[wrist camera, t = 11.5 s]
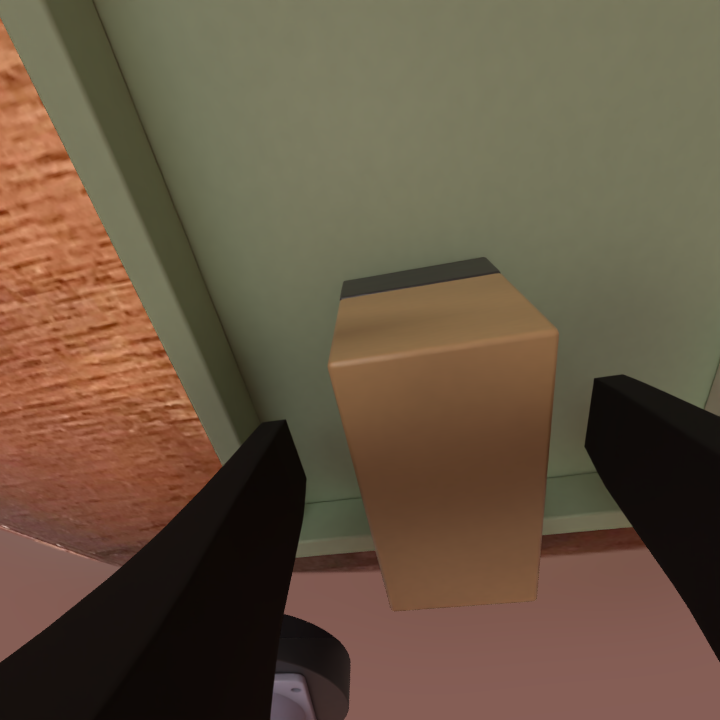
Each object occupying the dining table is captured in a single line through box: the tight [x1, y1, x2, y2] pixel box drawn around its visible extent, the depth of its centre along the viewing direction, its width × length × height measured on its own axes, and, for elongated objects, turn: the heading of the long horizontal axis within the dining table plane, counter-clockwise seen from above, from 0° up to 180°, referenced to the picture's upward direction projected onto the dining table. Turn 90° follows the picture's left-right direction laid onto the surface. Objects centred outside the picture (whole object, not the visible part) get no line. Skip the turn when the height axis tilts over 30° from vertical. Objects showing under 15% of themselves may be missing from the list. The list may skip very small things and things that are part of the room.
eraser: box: [327, 257, 559, 611], centre depth 9 cm, size 7×3×4 cm, turn 10°
